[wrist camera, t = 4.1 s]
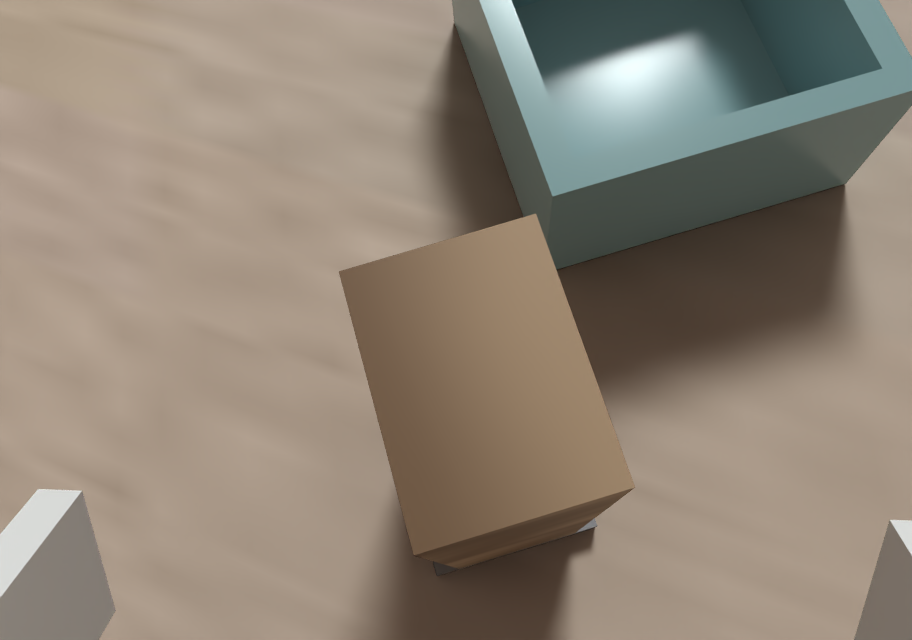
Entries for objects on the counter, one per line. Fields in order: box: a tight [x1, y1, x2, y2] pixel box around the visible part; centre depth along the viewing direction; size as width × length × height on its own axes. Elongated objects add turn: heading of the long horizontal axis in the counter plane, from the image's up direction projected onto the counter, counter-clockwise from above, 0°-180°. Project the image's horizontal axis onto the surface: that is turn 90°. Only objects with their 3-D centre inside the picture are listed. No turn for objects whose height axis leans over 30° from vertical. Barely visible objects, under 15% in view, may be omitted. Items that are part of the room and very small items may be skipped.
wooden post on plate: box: [339, 214, 635, 576], centre depth 17 cm, size 4×4×11 cm
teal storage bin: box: [452, 0, 912, 270], centre depth 23 cm, size 10×10×5 cm
